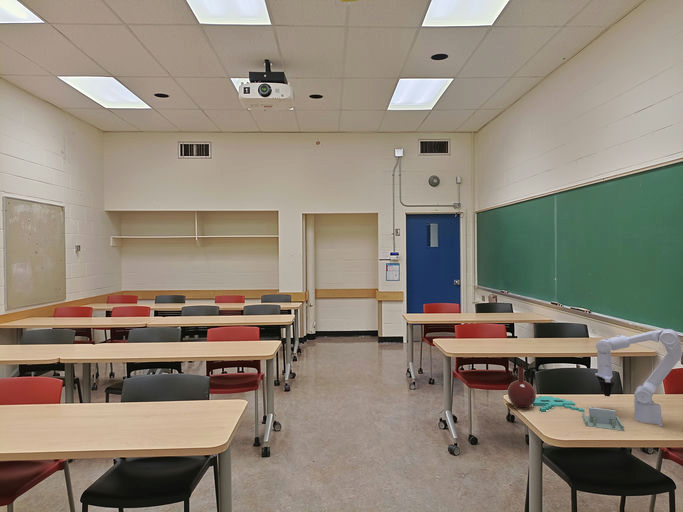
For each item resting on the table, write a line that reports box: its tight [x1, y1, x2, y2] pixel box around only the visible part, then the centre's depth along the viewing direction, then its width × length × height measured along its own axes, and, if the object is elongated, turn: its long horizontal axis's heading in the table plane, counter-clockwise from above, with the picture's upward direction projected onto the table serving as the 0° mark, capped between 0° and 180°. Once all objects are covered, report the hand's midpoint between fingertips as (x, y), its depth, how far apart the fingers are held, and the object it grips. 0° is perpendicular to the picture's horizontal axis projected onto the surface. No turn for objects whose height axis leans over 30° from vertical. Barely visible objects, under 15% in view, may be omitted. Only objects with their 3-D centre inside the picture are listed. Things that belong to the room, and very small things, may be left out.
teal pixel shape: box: [532, 395, 586, 413], centre depth 200 cm, size 20×2×20 cm
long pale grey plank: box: [588, 406, 617, 425], centre depth 175 cm, size 10×1×6 cm, turn 64°
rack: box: [581, 412, 625, 432], centre depth 175 cm, size 14×13×4 cm
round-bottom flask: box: [507, 366, 537, 409], centre depth 199 cm, size 13×13×20 cm
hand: (605, 393), depth 188 cm, fingers open, 7 cm apart
